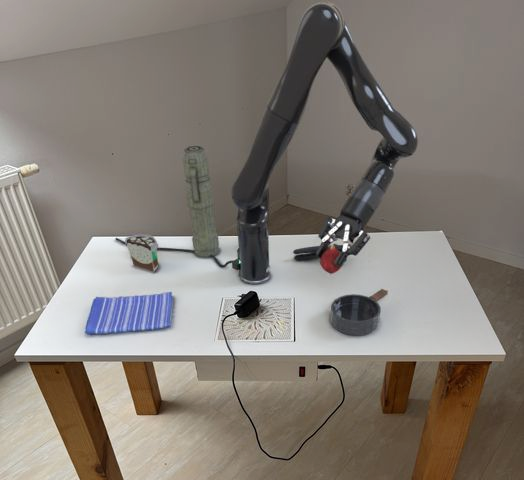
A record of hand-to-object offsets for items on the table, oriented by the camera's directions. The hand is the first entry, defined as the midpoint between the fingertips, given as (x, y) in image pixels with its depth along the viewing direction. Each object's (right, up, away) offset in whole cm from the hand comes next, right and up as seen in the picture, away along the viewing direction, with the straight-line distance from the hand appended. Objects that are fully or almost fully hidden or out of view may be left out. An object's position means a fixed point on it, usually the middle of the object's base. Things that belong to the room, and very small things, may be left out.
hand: (327, 261), depth 122 cm
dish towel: (-55, -13, +17) cm, 59 cm away
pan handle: (+16, -8, +13) cm, 22 cm away
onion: (+2, -3, +4) cm, 5 cm away
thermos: (-36, +11, +45) cm, 59 cm away
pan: (+9, -15, +10) cm, 20 cm away
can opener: (+3, +7, +38) cm, 39 cm away
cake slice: (-55, +6, +40) cm, 68 cm away
